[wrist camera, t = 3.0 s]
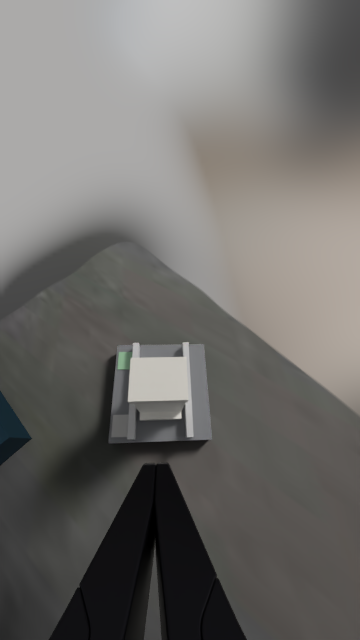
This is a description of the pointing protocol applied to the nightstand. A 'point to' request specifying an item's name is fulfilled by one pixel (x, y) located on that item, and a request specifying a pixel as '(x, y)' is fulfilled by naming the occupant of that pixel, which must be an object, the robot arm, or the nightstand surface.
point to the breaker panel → (186, 429)
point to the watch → (10, 431)
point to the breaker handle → (158, 387)
